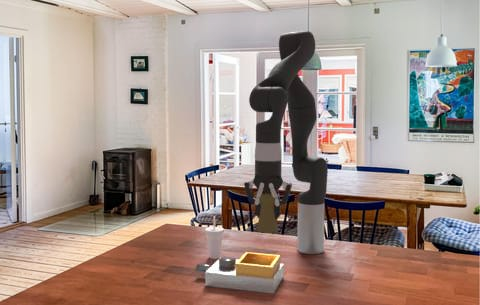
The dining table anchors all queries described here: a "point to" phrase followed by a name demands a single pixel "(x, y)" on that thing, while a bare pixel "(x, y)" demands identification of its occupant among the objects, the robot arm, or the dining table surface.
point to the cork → (267, 214)
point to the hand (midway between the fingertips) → (267, 217)
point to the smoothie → (214, 240)
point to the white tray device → (245, 272)
